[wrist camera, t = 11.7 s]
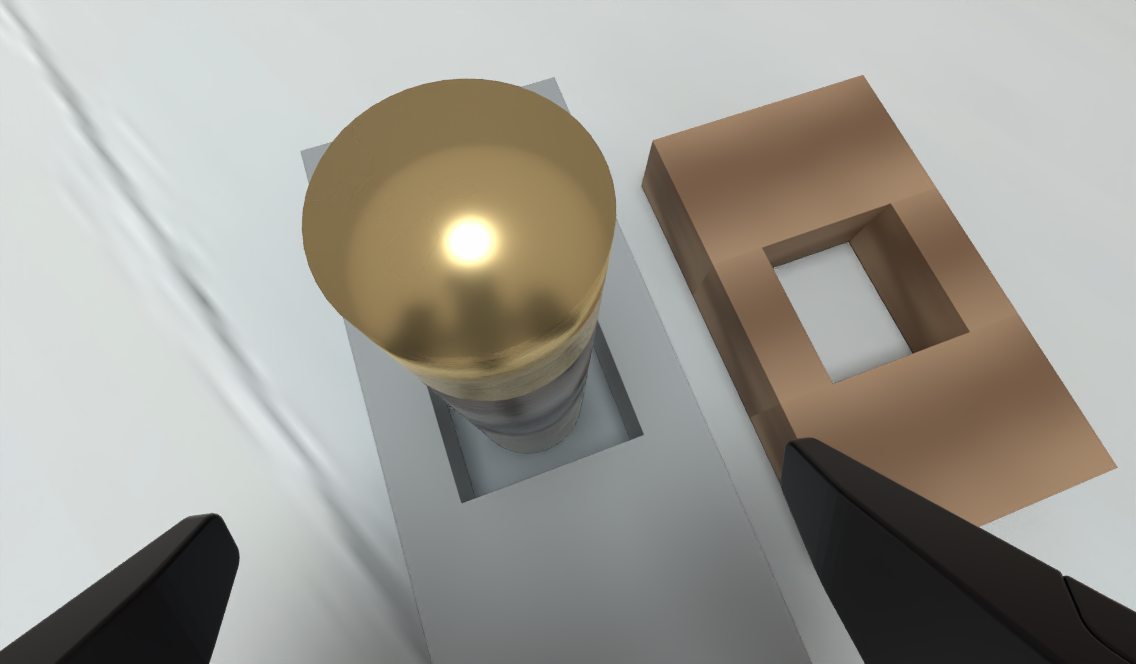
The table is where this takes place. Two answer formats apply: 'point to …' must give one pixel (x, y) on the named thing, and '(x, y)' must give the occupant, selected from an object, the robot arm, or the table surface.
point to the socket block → (906, 285)
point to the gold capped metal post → (470, 248)
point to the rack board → (580, 517)
